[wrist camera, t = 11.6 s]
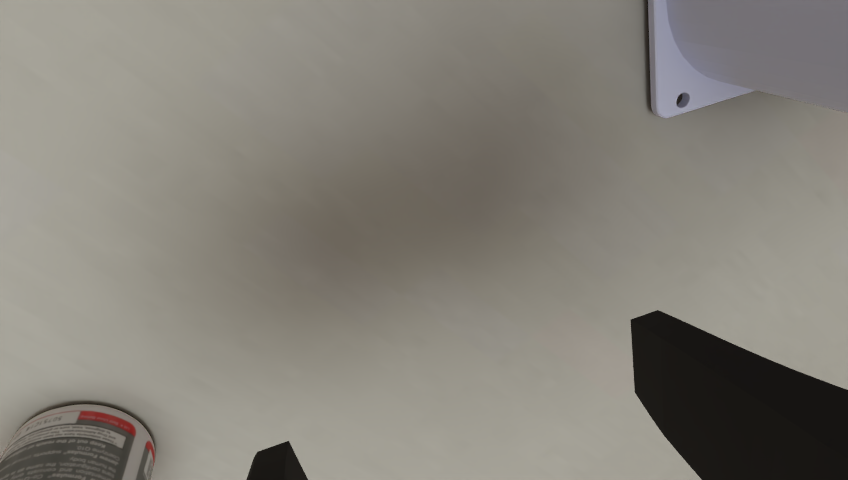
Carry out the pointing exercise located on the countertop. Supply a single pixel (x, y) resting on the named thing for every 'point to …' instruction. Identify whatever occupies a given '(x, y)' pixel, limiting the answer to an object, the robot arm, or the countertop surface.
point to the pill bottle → (79, 446)
